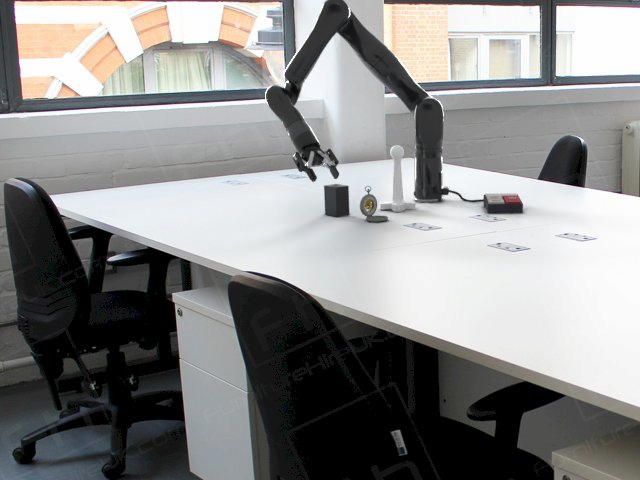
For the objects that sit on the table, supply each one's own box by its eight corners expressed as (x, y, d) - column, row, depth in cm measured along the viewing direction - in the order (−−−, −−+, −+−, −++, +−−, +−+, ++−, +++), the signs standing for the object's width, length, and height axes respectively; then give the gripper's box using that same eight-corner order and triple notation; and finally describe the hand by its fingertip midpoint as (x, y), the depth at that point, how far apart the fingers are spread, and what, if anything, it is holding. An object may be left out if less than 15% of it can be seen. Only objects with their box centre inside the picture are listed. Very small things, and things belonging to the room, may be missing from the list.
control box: (487, 202, 324) (483, 192, 337) (487, 215, 325) (483, 205, 339) (523, 201, 324) (517, 191, 338) (522, 215, 325) (517, 204, 339)
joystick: (415, 207, 338) (414, 144, 331) (416, 211, 330) (415, 146, 324) (380, 208, 337) (379, 144, 331) (380, 212, 330) (379, 147, 323)
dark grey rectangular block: (324, 214, 328) (323, 185, 325) (337, 212, 331) (336, 183, 328) (336, 217, 324) (335, 187, 321) (349, 215, 327) (348, 185, 324)
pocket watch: (385, 222, 313) (384, 188, 310) (358, 222, 315) (357, 188, 311) (391, 218, 321) (390, 184, 317) (364, 217, 322) (363, 184, 319)
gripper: (288, 132, 325) (312, 173, 320) (326, 128, 333) (349, 168, 329) (280, 148, 330) (302, 188, 326) (316, 144, 339) (339, 184, 335)
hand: (326, 178), depth 328 cm, fingers open, 8 cm apart
